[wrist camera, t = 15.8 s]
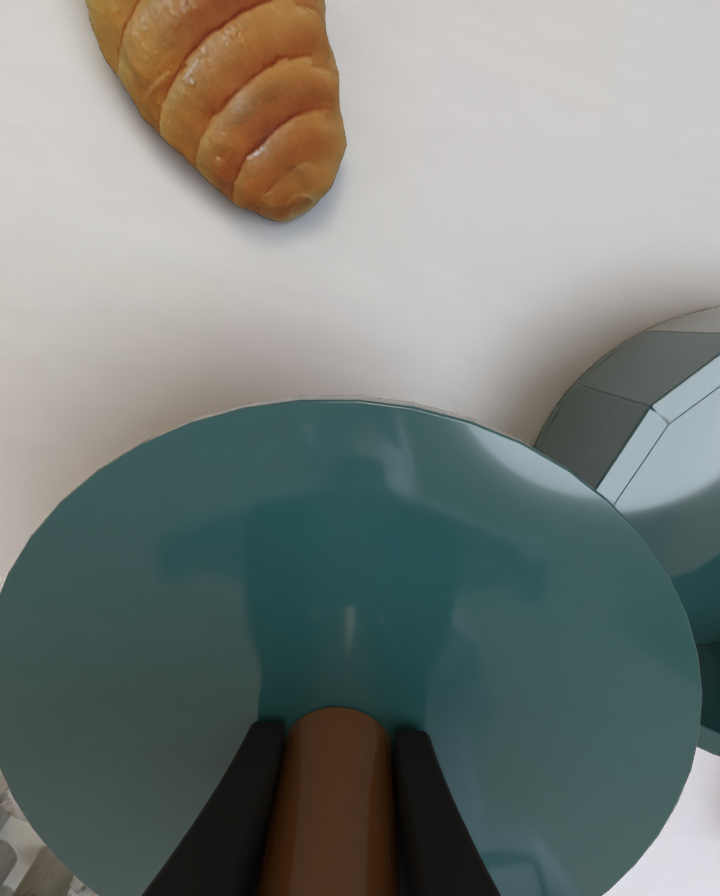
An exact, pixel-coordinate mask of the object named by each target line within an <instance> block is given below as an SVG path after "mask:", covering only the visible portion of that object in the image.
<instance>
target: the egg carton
mask: <svg viewBox="0 0 720 896" xmlns="http://www.w3.org/2000/svg"><path fill="white" fill-rule="evenodd" d="M0 896H98V895H97V894H96V893H95V892H93V891H92V890H91V889H89V888H88V887H87V886H86V885H84V884H83V883H82V882H81V881H80V880H79V879H78V878H77V877H76V876H75V875H74V874H73V873H71V872H70V871H69V870H68V869H67V868H66V867H65V866H64V865H63V864H62V863H61V862H60V861H59V860H58V859H57V858H56V857H55V856H54V855H53V853H52V852H51V851H50V850H49V848H48V847H47V846H46V845H45V844H44V842H43V841H42V840H41V839H40V837H39V836H38V835H37V834H36V832H35V831H34V830H33V829H32V827H31V826H30V824H29V823H28V821H27V819H26V818H25V816H24V815H23V813H22V811H21V810H20V808H19V806H18V805H17V803H16V802H15V800H14V798H13V797H12V795H11V792H10V790H9V788H8V786H7V784H6V781H5V779H4V777H3V775H2V772H1V770H0Z"/></svg>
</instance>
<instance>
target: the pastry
mask: <svg viewBox="0 0 720 896" xmlns="http://www.w3.org/2000/svg"><path fill="white" fill-rule="evenodd" d="M85 2H86V5H87V8H88V11H89V19H90V23H91V26H92V29H93V31H94V34H95V36H96V38H97V40H98V43H99V47H100V50H101V51H102V53H103V55H104V58H105V60H106V62H107V63H108V64H109V66H110V67H111V68H112V69H113V70H114V72H115V73H116V74H117V75H118V77H119V78H120V80H121V82H122V83H123V85H124V87H125V89H126V90H127V91H128V93H129V94H130V95H131V97H132V99H133V101H134V103H135V105H136V107H137V109H138V110H139V112H140V114H141V116H142V117H143V118H144V120H145V121H146V122H147V123H148V124H150V125H151V126H152V127H154V128H155V129H156V130H157V131H158V133H159V134H160V135H161V136H162V137H163V138H164V139H165V141H166V142H167V143H168V144H170V145H171V146H172V147H174V148H175V149H176V150H177V151H178V152H179V153H181V154H182V155H183V156H184V157H185V159H186V160H187V161H188V162H189V163H190V164H191V165H192V166H193V167H195V168H196V169H197V170H198V171H199V172H200V173H201V174H203V176H204V177H205V178H206V179H207V181H209V182H210V183H211V184H212V185H213V186H215V187H216V188H217V189H218V190H219V191H220V192H221V193H222V194H224V195H225V196H226V197H227V198H229V199H230V201H231V202H232V203H233V204H234V205H236V206H239V207H241V208H244V209H248V210H250V211H253V212H255V213H257V214H259V215H261V216H263V217H266V218H269V219H272V220H275V221H280V222H286V221H290V220H292V219H294V218H296V217H298V216H300V215H303V214H304V213H306V212H307V211H309V210H310V209H311V208H312V207H314V206H315V205H316V203H317V202H318V201H319V200H320V198H321V197H323V196H324V195H325V194H326V193H327V192H328V190H329V189H330V188H331V187H332V185H333V182H334V180H335V177H336V174H337V171H338V168H339V165H340V163H341V160H342V158H343V155H344V152H345V149H346V146H347V144H346V136H345V131H344V125H343V119H342V116H341V112H340V104H339V73H338V69H337V66H336V62H335V58H334V55H333V52H332V49H331V47H330V44H329V41H328V37H327V33H326V23H325V11H326V8H325V0H85Z"/></svg>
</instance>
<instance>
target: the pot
mask: <svg viewBox="0 0 720 896" xmlns="http://www.w3.org/2000/svg"><path fill="white" fill-rule="evenodd" d="M535 448H537V449H539V450H540V451H542V452H544V453H546V454H547V455H549V456H551V457H553V458H554V459H556V460H558V461H559V462H561V463H562V464H563V465H565V466H566V467H567V468H569V469H570V470H571V471H572V472H574V473H575V474H576V475H578V476H579V477H580V478H581V479H583V480H584V481H585V482H586V483H588V484H589V485H590V486H592V487H593V488H594V489H595V490H597V491H598V492H599V493H600V494H602V495H603V496H604V497H605V498H607V499H608V500H609V501H610V502H611V503H612V504H613V505H614V506H615V507H616V508H617V510H618V511H619V512H620V513H621V514H622V515H623V516H624V517H625V518H626V519H627V520H628V521H629V522H630V523H631V524H632V525H633V526H634V528H635V529H636V530H637V531H638V532H639V533H640V534H641V535H642V536H643V538H644V539H645V541H646V542H647V544H648V545H649V546H650V548H651V549H652V551H653V552H654V554H655V555H656V557H657V558H658V560H659V561H660V563H661V564H662V565H663V567H664V568H665V570H666V571H667V573H668V575H669V577H670V579H671V581H672V583H673V585H674V587H675V590H676V592H677V594H678V596H679V598H680V600H681V602H682V604H683V607H684V609H685V611H686V613H687V617H688V620H689V624H690V627H691V631H692V635H693V638H694V642H695V645H696V649H697V652H698V659H699V668H700V678H701V688H702V705H701V720H700V733H699V738H698V742H697V746H696V747H699V748H701V749H703V750H705V751H707V752H709V753H712V754H714V755H718V756H720V306H718V307H715V308H712V309H709V310H703V311H699V312H695V313H691V314H687V315H683V316H679V317H676V318H673V319H671V320H668V321H666V322H663V323H661V324H658V325H655V326H653V327H650V328H648V329H647V330H645V331H643V332H641V333H639V334H637V335H635V336H634V337H632V338H630V339H628V340H626V341H624V342H623V343H622V344H620V345H619V346H617V347H616V348H614V349H613V350H612V351H610V352H609V353H607V354H606V355H604V356H603V357H602V358H601V359H600V360H598V361H597V362H596V363H595V364H594V365H593V366H592V367H591V368H589V369H588V370H587V371H586V372H585V373H584V374H583V375H582V376H581V377H580V378H579V379H578V380H577V381H576V382H575V384H574V385H573V386H572V387H571V388H570V389H569V390H568V391H567V393H566V394H565V395H564V396H563V398H562V399H561V401H560V402H559V403H558V405H557V406H556V408H555V409H554V411H553V412H552V413H551V415H550V417H549V418H548V420H547V422H546V424H545V426H544V428H543V430H542V432H541V434H540V435H539V437H538V440H537V443H536V445H535Z"/></svg>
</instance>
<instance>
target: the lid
mask: <svg viewBox="0 0 720 896" xmlns="http://www.w3.org/2000/svg"><path fill="white" fill-rule="evenodd" d="M701 705H702V688H701V678H700V668H699V659H698V652H697V649H696V645H695V642H694V638H693V635H692V631H691V627H690V624H689V620H688V617H687V613H686V611H685V609H684V607H683V604H682V602H681V600H680V598H679V596H678V594H677V592H676V590H675V587H674V585H673V583H672V581H671V579H670V577H669V575H668V573H667V571H666V570H665V568H664V567H663V565H662V564H661V563H660V561H659V560H658V558H657V557H656V555H655V554H654V552H653V551H652V549H651V548H650V546H649V545H648V544H647V542H646V541H645V539H644V538H643V536H642V535H641V534H640V533H639V532H638V531H637V530H636V529H635V528H634V526H633V525H632V524H631V523H630V522H629V521H628V520H627V519H626V518H625V517H624V516H623V515H622V514H621V513H620V512H619V511H618V510H617V508H616V507H615V506H614V505H613V504H612V503H611V502H610V501H609V500H608V499H607V498H605V497H604V496H603V495H602V494H600V493H599V492H598V491H597V490H595V489H594V488H593V487H592V486H590V485H589V484H588V483H586V482H585V481H584V480H583V479H581V478H580V477H579V476H578V475H576V474H575V473H574V472H572V471H571V470H570V469H569V468H567V467H566V466H565V465H563V464H562V463H561V462H559V461H558V460H556V459H554V458H553V457H551V456H549V455H547V454H546V453H544V452H542V451H540V450H539V449H537V448H535V447H533V446H532V445H530V444H528V443H526V442H525V441H523V440H521V439H520V438H518V437H516V436H514V435H511V434H509V433H506V432H504V431H502V430H499V429H497V428H494V427H492V426H489V425H487V424H484V423H482V422H479V421H477V420H475V419H472V418H470V417H467V416H464V415H460V414H456V413H452V412H449V411H445V410H441V409H437V408H433V407H429V406H425V405H421V404H418V403H414V402H407V401H398V400H390V399H382V398H374V397H366V396H358V395H357V396H298V397H291V398H284V399H276V400H269V401H262V402H255V403H248V404H244V405H241V406H237V407H234V408H230V409H226V410H223V411H219V412H216V413H212V414H208V415H205V416H201V417H198V418H195V419H193V420H191V421H188V422H186V423H184V424H181V425H179V426H177V427H174V428H172V429H170V430H167V431H165V432H163V433H160V434H158V435H156V436H154V437H151V438H149V439H148V440H146V441H144V442H143V443H141V444H139V445H138V446H136V447H134V448H133V449H131V450H129V451H128V452H126V453H125V454H123V455H121V456H120V457H118V458H116V459H115V460H113V461H112V462H110V463H108V464H107V465H105V466H103V467H102V468H100V469H99V470H97V471H96V472H95V473H94V474H93V475H91V476H90V477H89V478H88V479H87V480H85V481H84V482H83V483H82V484H81V485H79V486H78V487H77V488H76V489H75V490H74V491H72V492H71V493H70V494H69V495H68V496H66V497H65V498H64V499H63V500H62V501H61V502H60V503H59V504H58V505H57V506H56V508H55V509H54V510H53V511H52V512H51V513H50V515H49V516H48V517H47V518H46V519H45V520H44V521H43V523H42V524H41V525H40V526H39V527H38V528H37V530H36V531H35V532H34V533H33V534H32V535H31V537H30V539H29V540H28V542H27V544H26V545H25V547H24V548H23V550H22V552H21V553H20V555H19V557H18V558H17V560H16V561H15V563H14V565H13V566H12V568H11V570H10V571H9V573H8V576H7V578H6V581H5V583H4V585H3V588H2V590H1V593H0V770H1V772H2V775H3V777H4V779H5V781H6V784H7V786H8V788H9V790H10V792H11V795H12V797H13V798H14V800H15V802H16V803H17V805H18V806H19V808H20V810H21V811H22V813H23V815H24V816H25V818H26V819H27V821H28V823H29V824H30V826H31V827H32V829H33V830H34V831H35V832H36V834H37V835H38V836H39V837H40V839H41V840H42V841H43V842H44V844H45V845H46V846H47V847H48V848H49V850H50V851H51V852H52V853H53V855H54V856H55V857H56V858H57V859H58V860H59V861H60V862H61V863H62V864H63V865H64V866H65V867H66V868H67V869H68V870H69V871H70V872H71V873H73V874H74V875H75V876H76V877H77V878H78V879H79V880H80V881H81V882H82V883H83V884H84V885H86V886H87V887H88V888H89V889H91V890H92V891H93V892H95V893H96V894H97V895H98V896H141V895H142V894H143V893H144V891H145V890H146V889H147V887H148V886H149V885H150V883H151V882H152V881H153V879H154V878H155V877H156V875H157V874H158V873H159V871H160V870H161V869H162V867H163V866H164V864H165V863H166V862H167V860H168V859H169V857H170V856H171V854H172V853H173V852H174V850H175V849H176V847H177V846H178V845H179V843H180V842H181V840H182V839H183V837H184V836H185V835H186V833H187V832H188V830H189V829H190V827H191V826H192V825H193V823H194V822H195V820H196V819H197V817H198V815H199V814H200V812H201V811H202V809H203V808H204V806H205V804H206V803H207V801H208V800H209V798H210V797H211V795H212V793H213V792H214V790H215V789H216V787H217V786H218V784H219V782H220V781H221V779H222V777H223V776H224V774H225V772H226V771H227V769H228V767H229V766H230V764H231V762H232V760H233V759H234V757H235V755H236V753H237V751H238V750H239V748H240V746H241V744H242V742H243V740H244V738H245V736H246V734H247V732H248V730H249V728H250V726H251V725H252V724H253V723H254V722H256V721H262V722H279V723H284V749H283V754H282V759H281V765H280V770H279V775H278V780H277V785H276V790H275V795H274V799H273V803H272V808H271V813H270V817H269V822H268V827H267V832H266V837H265V842H264V847H263V852H262V857H261V862H260V867H259V872H258V878H257V883H256V888H255V893H254V896H401V893H400V874H399V855H398V836H397V817H396V798H395V779H394V753H395V742H396V732H397V730H412V731H425V732H426V733H427V734H428V735H429V736H430V739H431V742H432V745H433V748H434V751H435V754H436V757H437V759H438V762H439V765H440V767H441V770H442V773H443V775H444V778H445V780H446V782H447V785H448V787H449V790H450V792H451V794H452V797H453V799H454V801H455V804H456V806H457V808H458V810H459V813H460V815H461V817H462V819H463V821H464V823H465V825H466V827H467V829H468V832H469V834H470V836H471V838H472V840H473V842H474V844H475V846H476V848H477V850H478V852H479V854H480V856H481V858H482V860H483V862H484V864H485V866H486V868H487V870H488V872H489V874H490V876H491V878H492V879H493V881H494V883H495V885H496V887H497V889H498V891H499V893H500V895H501V896H602V895H604V894H605V893H606V892H608V891H609V890H610V889H611V888H612V887H613V886H614V885H615V884H616V883H617V882H618V881H619V880H620V879H621V878H622V877H623V876H624V875H625V874H626V873H627V872H628V871H629V870H630V869H631V868H633V867H634V866H635V864H636V863H637V862H638V861H639V859H640V858H641V857H642V856H643V854H644V853H645V852H646V851H647V849H648V848H649V847H650V846H651V844H652V843H653V842H654V841H655V839H656V838H657V837H658V835H659V834H660V832H661V830H662V829H663V827H664V825H665V824H666V822H667V820H668V819H669V817H670V815H671V813H672V812H673V810H674V808H675V807H676V805H677V803H678V800H679V798H680V796H681V793H682V791H683V788H684V786H685V783H686V781H687V778H688V776H689V773H690V771H691V768H692V763H693V759H694V755H695V751H696V746H697V742H698V738H699V733H700V720H701Z"/></svg>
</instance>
